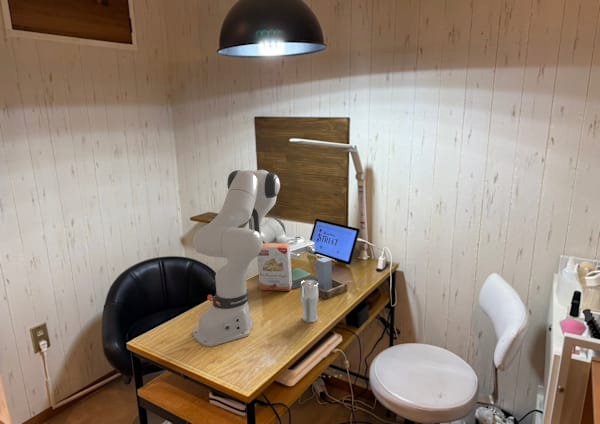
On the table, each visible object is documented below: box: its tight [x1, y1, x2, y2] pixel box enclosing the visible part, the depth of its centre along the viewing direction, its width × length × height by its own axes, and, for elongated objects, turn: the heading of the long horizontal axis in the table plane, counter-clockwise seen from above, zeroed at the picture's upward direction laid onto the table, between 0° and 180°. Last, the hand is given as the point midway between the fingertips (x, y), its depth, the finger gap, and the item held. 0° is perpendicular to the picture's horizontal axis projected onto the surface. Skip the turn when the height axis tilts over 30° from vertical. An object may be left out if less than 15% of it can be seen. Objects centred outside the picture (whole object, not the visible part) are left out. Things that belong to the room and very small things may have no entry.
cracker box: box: [256, 243, 293, 292], centre depth 184 cm, size 14×6×21 cm, turn 80°
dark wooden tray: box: [318, 277, 348, 300], centre depth 185 cm, size 12×15×3 cm
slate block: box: [316, 256, 333, 291], centre depth 184 cm, size 5×5×14 cm
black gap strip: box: [290, 275, 317, 290], centre depth 192 cm, size 16×5×1 cm, turn 129°
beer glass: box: [299, 280, 320, 323], centre depth 158 cm, size 7×7×15 cm
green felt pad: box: [291, 267, 313, 283], centre depth 201 cm, size 11×11×1 cm
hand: (306, 253), depth 192 cm, fingers open, 8 cm apart
